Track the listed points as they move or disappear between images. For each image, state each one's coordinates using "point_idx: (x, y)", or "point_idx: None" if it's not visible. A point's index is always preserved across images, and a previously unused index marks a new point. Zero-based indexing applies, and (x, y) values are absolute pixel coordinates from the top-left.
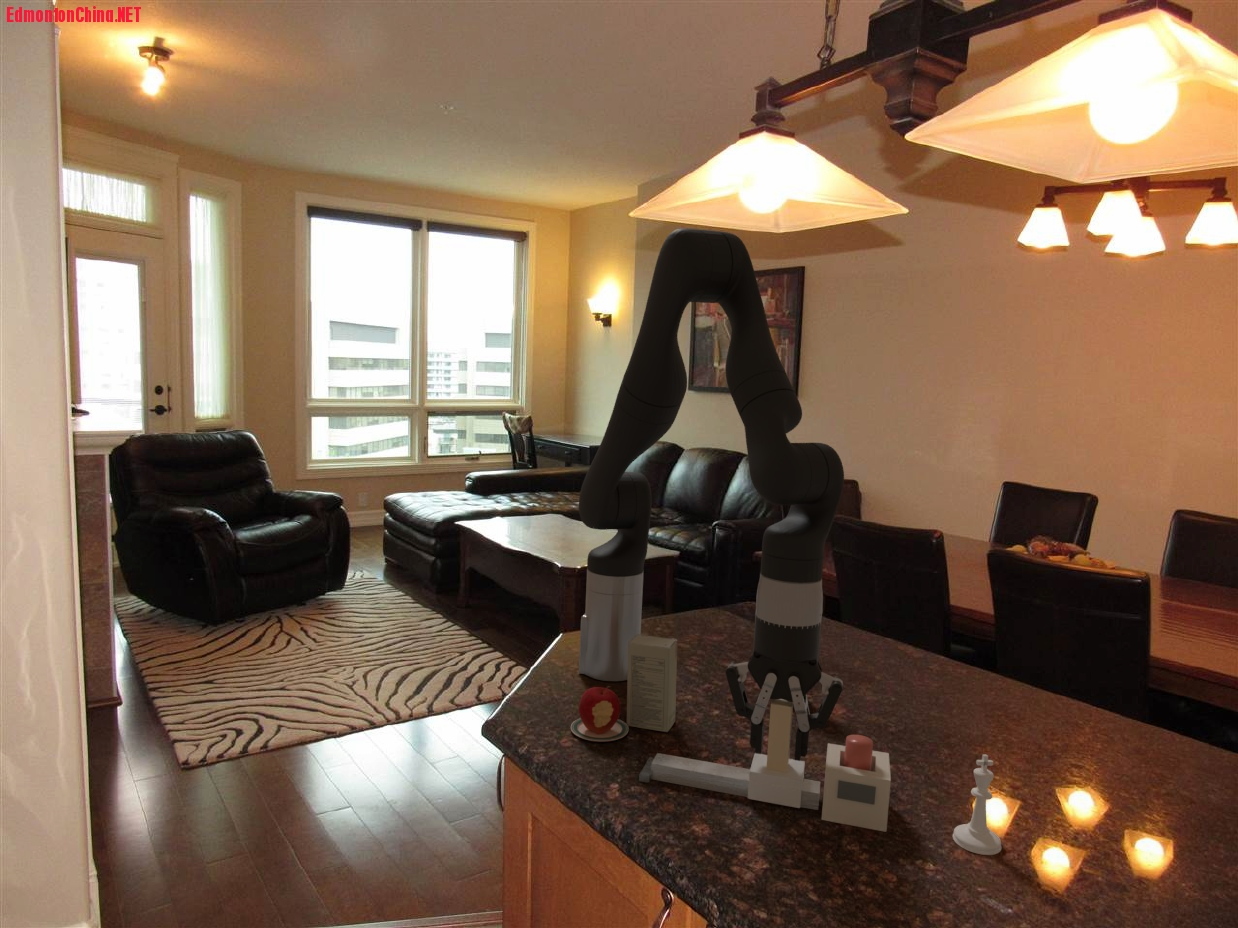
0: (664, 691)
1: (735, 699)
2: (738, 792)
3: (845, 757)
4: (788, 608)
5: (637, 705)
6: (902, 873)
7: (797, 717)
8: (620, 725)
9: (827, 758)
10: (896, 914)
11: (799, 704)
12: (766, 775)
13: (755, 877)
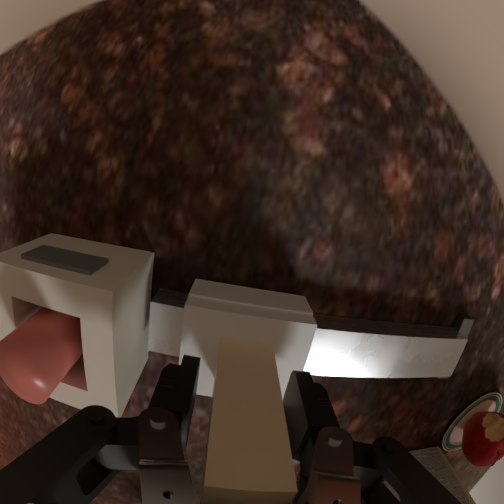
0: None
1: (421, 473)
2: (320, 316)
3: (66, 349)
4: None
5: (442, 468)
6: (50, 109)
7: (180, 449)
8: (449, 439)
9: (111, 354)
10: (91, 10)
11: (164, 489)
12: (275, 317)
13: (303, 36)
